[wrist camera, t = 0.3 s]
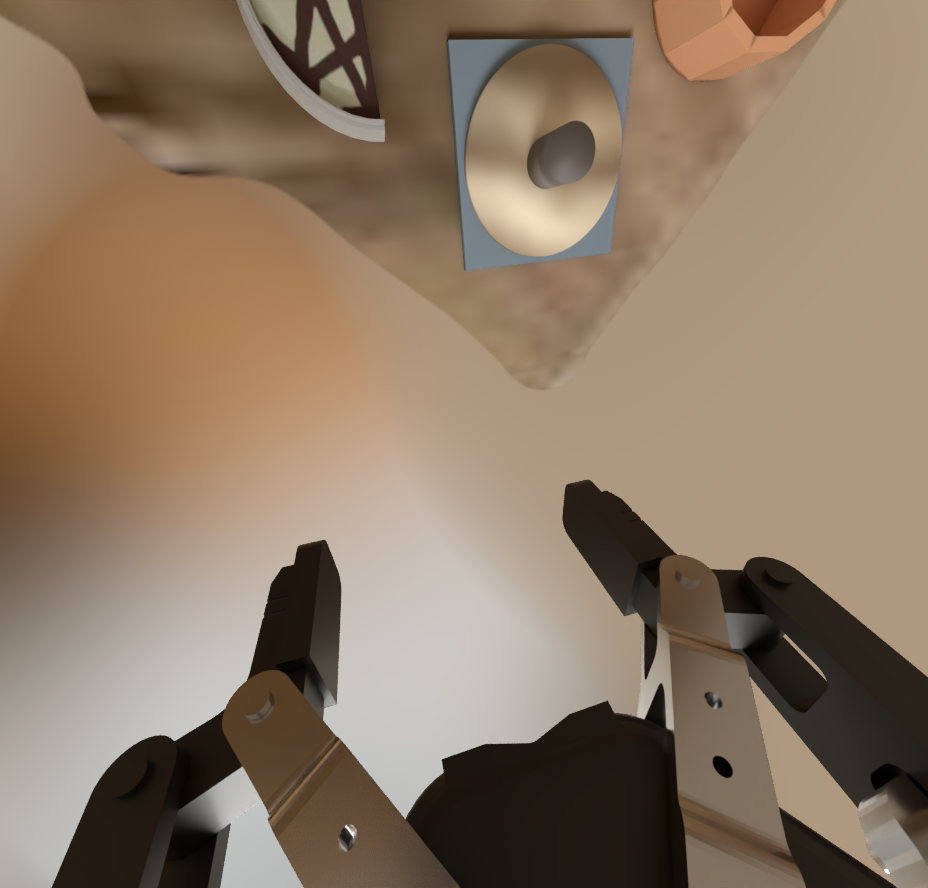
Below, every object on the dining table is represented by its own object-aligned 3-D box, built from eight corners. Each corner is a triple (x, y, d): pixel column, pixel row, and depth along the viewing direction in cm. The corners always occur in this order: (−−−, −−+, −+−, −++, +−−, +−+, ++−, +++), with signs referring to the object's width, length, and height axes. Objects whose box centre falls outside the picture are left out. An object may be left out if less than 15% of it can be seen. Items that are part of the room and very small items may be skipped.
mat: (446, 43, 26) (448, 39, 26) (629, 41, 29) (634, 37, 28) (464, 270, 34) (466, 270, 33) (606, 252, 37) (610, 253, 36)
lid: (456, 49, 26) (475, 12, 22) (627, 47, 28) (676, 13, 24) (470, 264, 33) (487, 268, 29) (606, 247, 36) (640, 249, 31)
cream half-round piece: (227, -90, 21) (141, -304, 13) (333, -87, 22) (319, -284, 14) (297, 170, 28) (271, 141, 19) (378, 163, 29) (386, 133, 20)
